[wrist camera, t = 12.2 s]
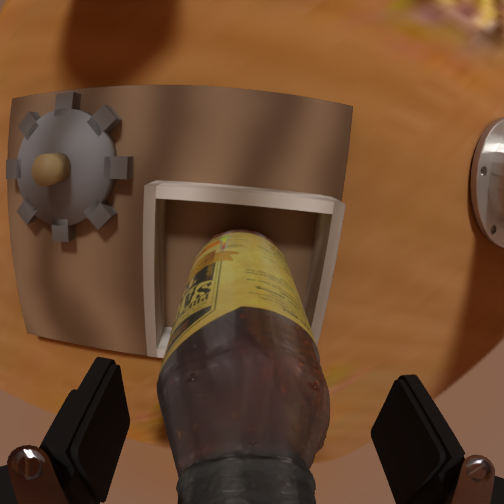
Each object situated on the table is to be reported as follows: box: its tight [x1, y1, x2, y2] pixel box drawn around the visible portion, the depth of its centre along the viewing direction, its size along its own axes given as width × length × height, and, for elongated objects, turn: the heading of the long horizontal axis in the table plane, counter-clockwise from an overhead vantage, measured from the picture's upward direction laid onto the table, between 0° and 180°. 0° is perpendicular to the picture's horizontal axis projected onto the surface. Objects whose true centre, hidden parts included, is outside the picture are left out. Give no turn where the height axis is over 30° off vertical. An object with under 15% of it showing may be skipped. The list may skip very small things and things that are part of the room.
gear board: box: [6, 85, 353, 358], centre depth 20 cm, size 25×20×5 cm
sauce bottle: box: [157, 228, 330, 504], centre depth 13 cm, size 6×6×20 cm
